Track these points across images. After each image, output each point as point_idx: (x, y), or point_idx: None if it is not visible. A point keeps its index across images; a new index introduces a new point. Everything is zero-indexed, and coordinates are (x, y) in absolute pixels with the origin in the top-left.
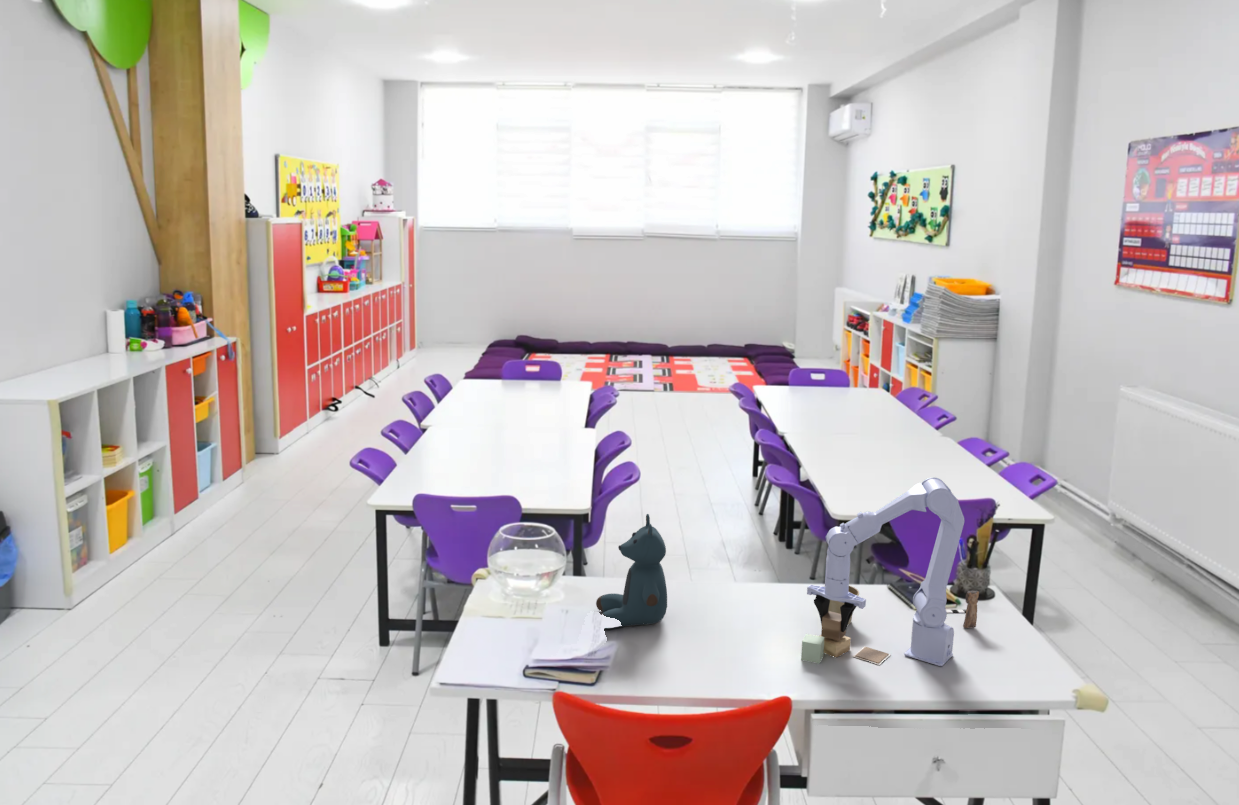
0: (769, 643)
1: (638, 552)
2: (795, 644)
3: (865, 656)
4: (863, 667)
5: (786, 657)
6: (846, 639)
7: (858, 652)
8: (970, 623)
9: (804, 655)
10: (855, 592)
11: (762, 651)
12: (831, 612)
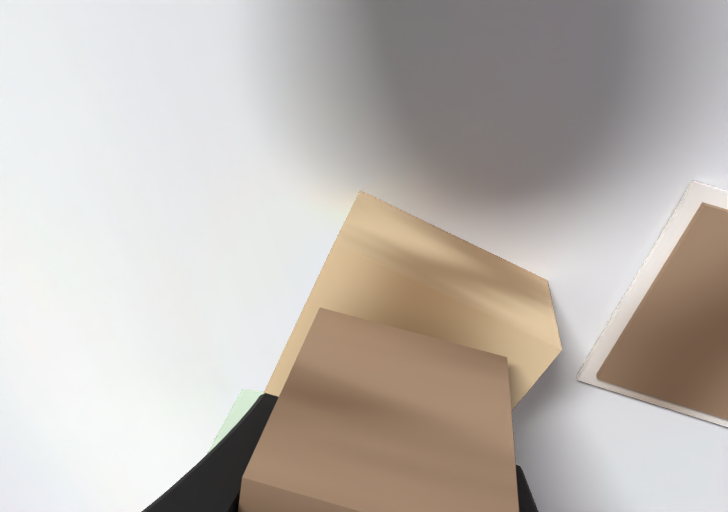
0: (8, 342)
1: None
2: (145, 309)
3: (684, 377)
4: (654, 483)
5: (172, 465)
6: (521, 384)
7: (624, 313)
8: None
9: None
10: None
11: (34, 435)
12: (282, 508)
